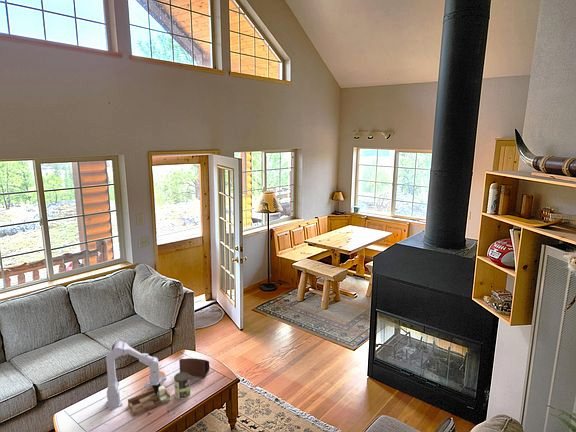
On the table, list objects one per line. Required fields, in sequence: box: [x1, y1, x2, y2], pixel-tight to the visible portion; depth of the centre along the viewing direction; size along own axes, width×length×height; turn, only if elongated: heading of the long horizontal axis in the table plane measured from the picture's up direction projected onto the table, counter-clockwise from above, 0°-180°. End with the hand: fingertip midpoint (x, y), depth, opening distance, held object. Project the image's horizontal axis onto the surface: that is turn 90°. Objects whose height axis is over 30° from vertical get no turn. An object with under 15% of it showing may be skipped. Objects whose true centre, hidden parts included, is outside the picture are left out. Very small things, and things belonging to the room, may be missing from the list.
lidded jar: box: [149, 370, 166, 386], centre depth 276 cm, size 11×11×9 cm
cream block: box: [158, 385, 166, 396], centre depth 264 cm, size 4×4×4 cm
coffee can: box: [173, 371, 191, 400], centre depth 266 cm, size 10×10×14 cm
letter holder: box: [178, 358, 210, 378], centre depth 290 cm, size 10×20×14 cm, turn 82°
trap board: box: [127, 388, 171, 416], centre depth 259 cm, size 12×24×4 cm, turn 128°
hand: (156, 393), depth 264 cm, fingers closed
